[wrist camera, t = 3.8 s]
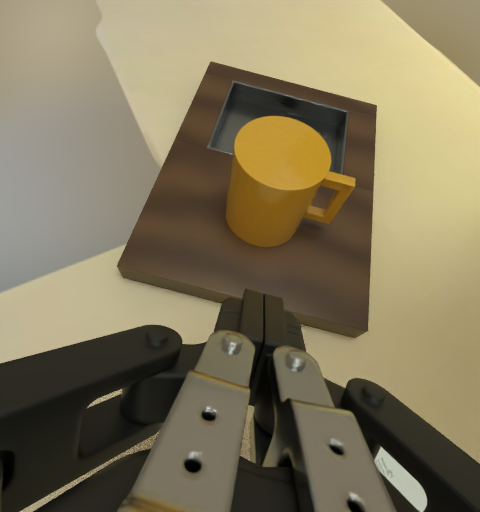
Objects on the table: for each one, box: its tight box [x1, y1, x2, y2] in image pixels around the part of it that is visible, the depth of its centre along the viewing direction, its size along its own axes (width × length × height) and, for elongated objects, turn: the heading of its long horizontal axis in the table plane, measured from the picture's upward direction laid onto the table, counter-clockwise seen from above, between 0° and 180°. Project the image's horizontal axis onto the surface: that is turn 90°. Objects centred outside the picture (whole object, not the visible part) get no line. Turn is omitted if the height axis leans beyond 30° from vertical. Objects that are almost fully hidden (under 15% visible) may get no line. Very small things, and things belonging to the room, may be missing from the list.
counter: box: [117, 62, 377, 338], centre depth 35 cm, size 30×22×2 cm
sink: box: [207, 80, 349, 175], centre depth 39 cm, size 12×15×2 cm
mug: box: [225, 116, 356, 247], centre depth 28 cm, size 10×7×8 cm
